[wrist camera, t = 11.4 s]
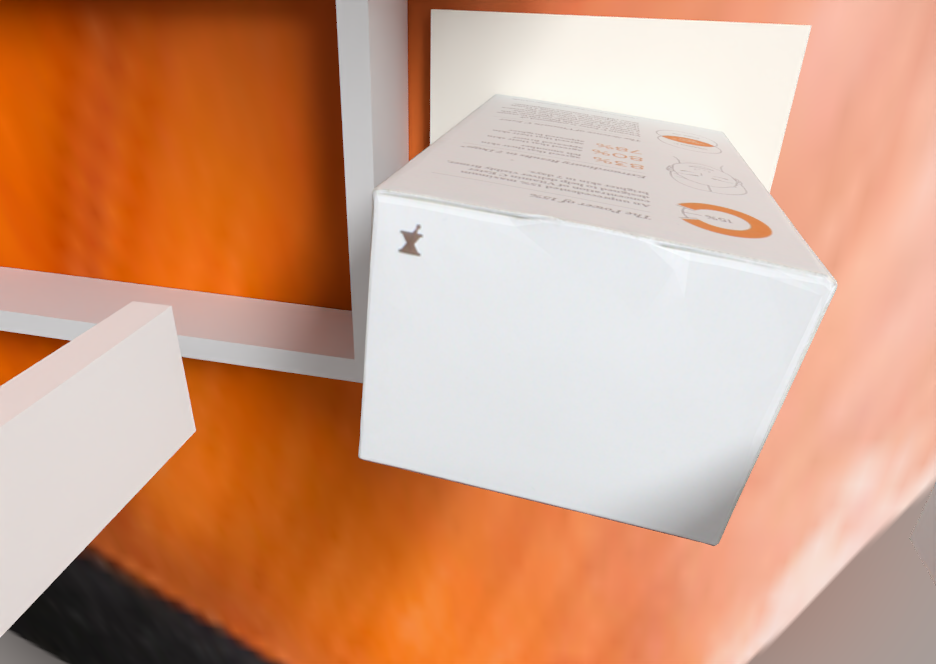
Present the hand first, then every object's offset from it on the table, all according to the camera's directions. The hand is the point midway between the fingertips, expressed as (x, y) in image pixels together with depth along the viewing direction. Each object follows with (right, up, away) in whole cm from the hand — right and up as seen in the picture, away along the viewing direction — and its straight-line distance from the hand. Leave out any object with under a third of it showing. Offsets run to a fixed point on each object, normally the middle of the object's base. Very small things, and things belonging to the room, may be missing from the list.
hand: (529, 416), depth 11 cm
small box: (+3, +6, +13) cm, 15 cm away
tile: (+3, +7, +13) cm, 15 cm away
